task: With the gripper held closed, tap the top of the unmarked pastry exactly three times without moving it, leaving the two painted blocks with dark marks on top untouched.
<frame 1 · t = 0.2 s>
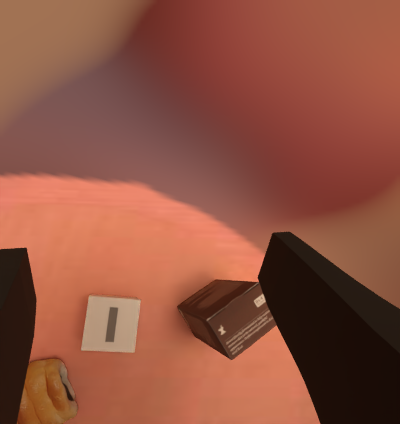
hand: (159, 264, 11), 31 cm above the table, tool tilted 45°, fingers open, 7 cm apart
pastry: (34, 399, 36), on the table
box: (206, 307, 42), on the table
marked block grey: (111, 318, 39), on the table
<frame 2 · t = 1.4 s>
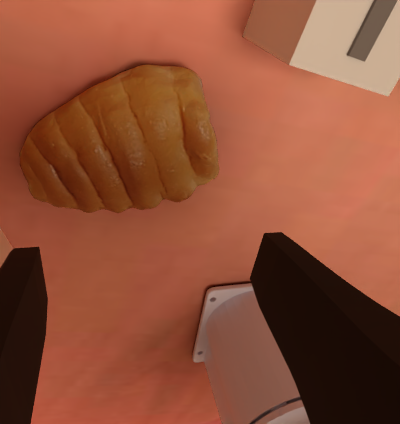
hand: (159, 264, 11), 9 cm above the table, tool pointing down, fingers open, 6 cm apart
pastry: (132, 136, 18), on the table
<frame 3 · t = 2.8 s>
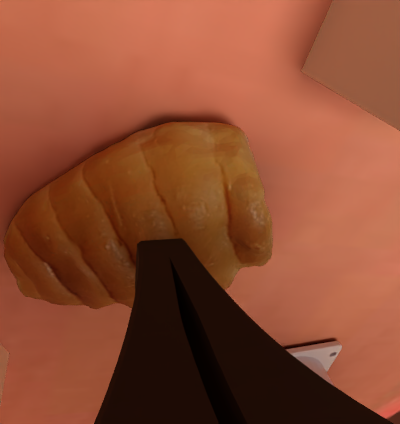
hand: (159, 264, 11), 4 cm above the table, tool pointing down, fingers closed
pastry: (152, 203, 14), on the table
marked block grey: (394, 14, 12), on the table
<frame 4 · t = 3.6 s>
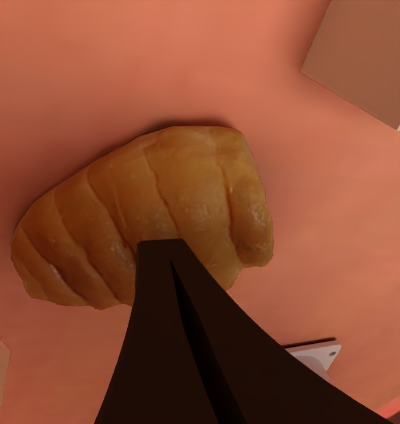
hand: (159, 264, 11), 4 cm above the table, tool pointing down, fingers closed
pastry: (155, 205, 14), on the table
marked block grey: (391, 15, 12), on the table
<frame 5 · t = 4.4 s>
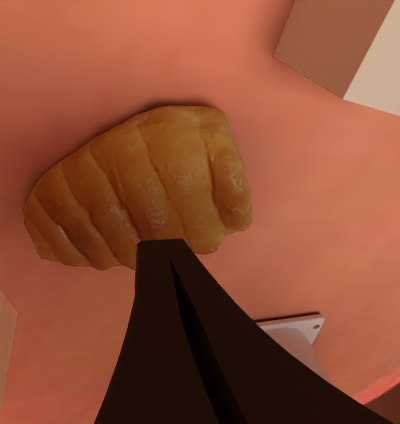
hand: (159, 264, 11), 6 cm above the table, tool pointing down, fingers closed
pastry: (149, 179, 16), on the table
marked block grey: (352, 7, 14), on the table
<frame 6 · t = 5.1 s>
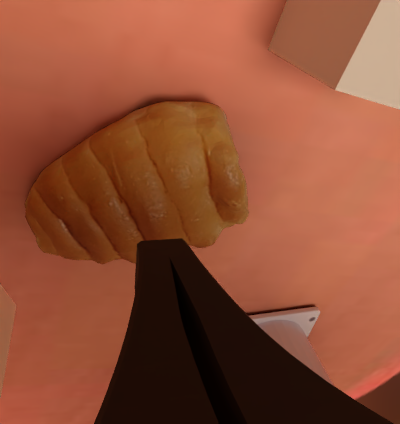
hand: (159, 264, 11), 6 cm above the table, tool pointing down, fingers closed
pastry: (148, 174, 17), on the table
marked block grey: (346, 0, 14), on the table
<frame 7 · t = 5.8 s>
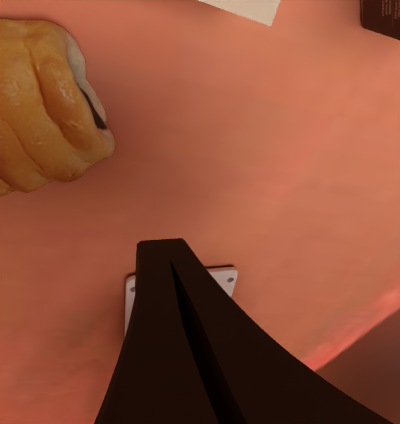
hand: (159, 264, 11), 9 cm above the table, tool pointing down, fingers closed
pastry: (15, 109, 16), on the table
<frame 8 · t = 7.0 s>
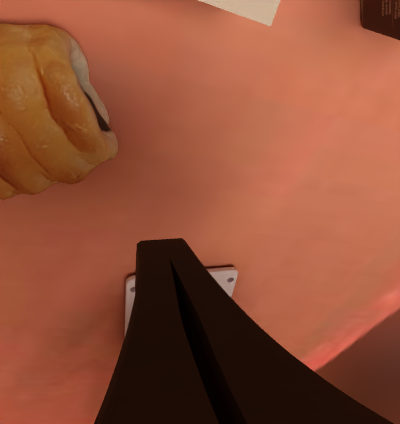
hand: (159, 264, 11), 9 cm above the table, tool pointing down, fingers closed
pastry: (19, 113, 16), on the table
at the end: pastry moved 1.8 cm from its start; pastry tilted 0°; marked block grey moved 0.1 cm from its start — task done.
